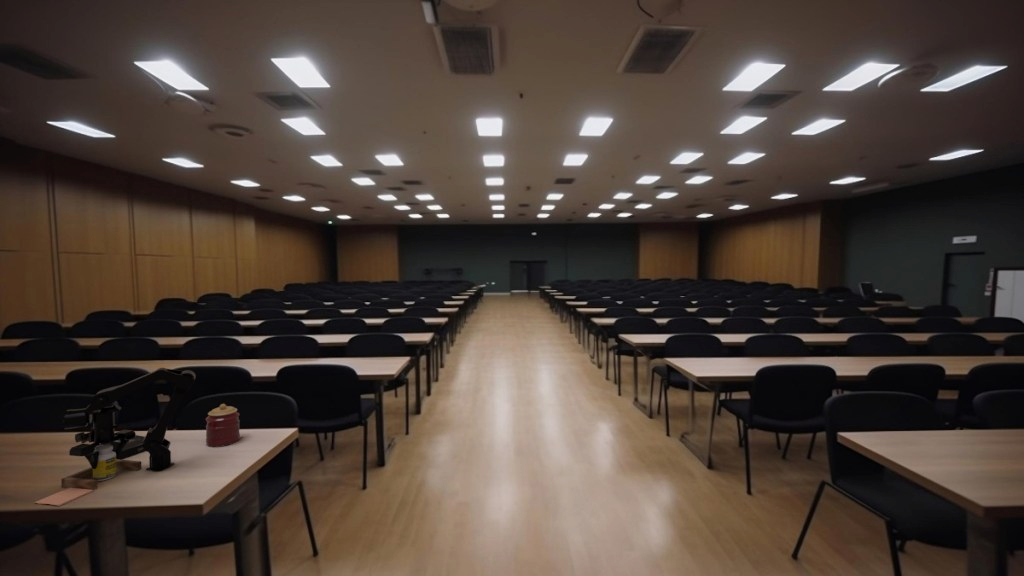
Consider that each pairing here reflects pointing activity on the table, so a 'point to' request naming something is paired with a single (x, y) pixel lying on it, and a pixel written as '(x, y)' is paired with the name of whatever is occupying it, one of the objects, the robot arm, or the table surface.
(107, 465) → the pill bottle
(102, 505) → the table surface
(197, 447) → the table surface
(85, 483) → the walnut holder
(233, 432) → the canister
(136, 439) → the portable cd player
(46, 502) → the terracotta mat
